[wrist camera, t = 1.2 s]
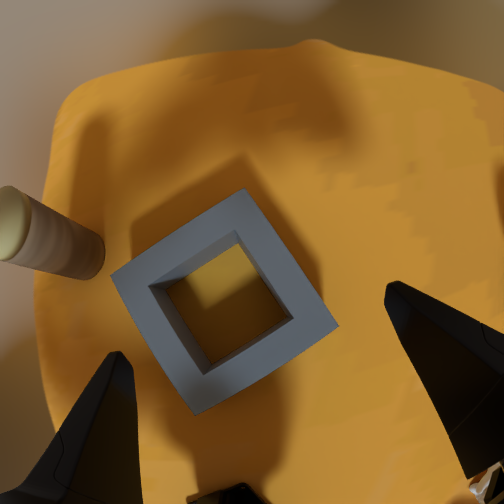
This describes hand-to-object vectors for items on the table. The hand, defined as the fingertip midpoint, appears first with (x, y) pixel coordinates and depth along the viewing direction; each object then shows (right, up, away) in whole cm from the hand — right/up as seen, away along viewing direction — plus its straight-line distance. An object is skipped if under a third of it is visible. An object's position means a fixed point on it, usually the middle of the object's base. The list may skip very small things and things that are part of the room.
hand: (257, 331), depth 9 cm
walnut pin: (-15, +2, +14) cm, 21 cm away
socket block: (-2, -1, +13) cm, 14 cm away
